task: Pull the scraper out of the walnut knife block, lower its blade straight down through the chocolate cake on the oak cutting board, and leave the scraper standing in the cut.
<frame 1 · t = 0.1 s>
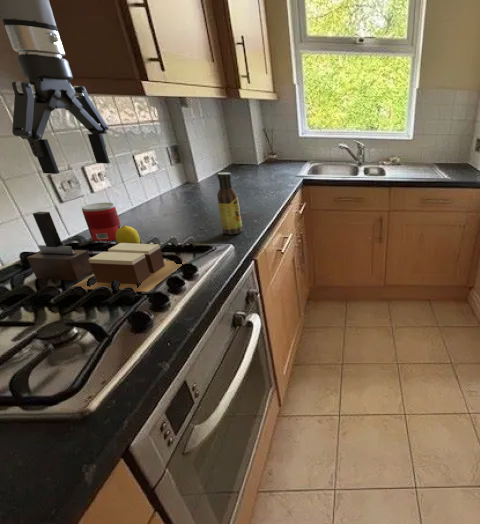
hand: (79, 167, 73), 26 cm above the worktop, tool pointing down, fingers open, 13 cm apart
sauce bottle: (233, 232, 113), on the worktop
lemon: (132, 252, 97), on the worktop
cake 1: (124, 279, 79), point 1 cm above the worktop, touching cutting board
cake 2: (140, 268, 84), point 1 cm above the worktop, touching cutting board
canned food: (109, 240, 104), on the worktop
knife block: (68, 280, 80), on the worktop
cutting board: (134, 279, 82), on the worktop
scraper: (67, 276, 80), point 1 cm above the worktop, touching knife block
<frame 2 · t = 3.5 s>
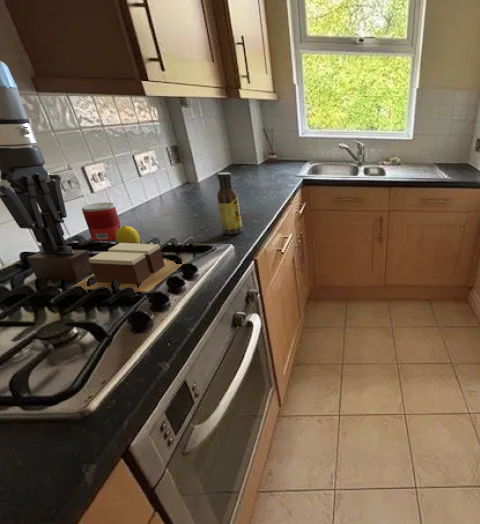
hand: (57, 252, 77), 7 cm above the worktop, tool pointing down, fingers closed on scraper, 2 cm apart
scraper: (67, 276, 80), point 1 cm above the worktop, touching gripper, knife block
everything else where it was.
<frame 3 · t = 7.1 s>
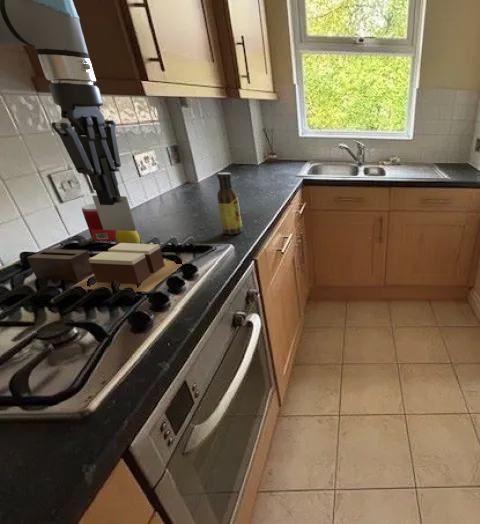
hand: (111, 203, 74), 19 cm above the worktop, tool pointing down, fingers closed on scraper, 2 cm apart
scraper: (120, 230, 76), point 13 cm above the worktop, touching gripper
everything else where it was.
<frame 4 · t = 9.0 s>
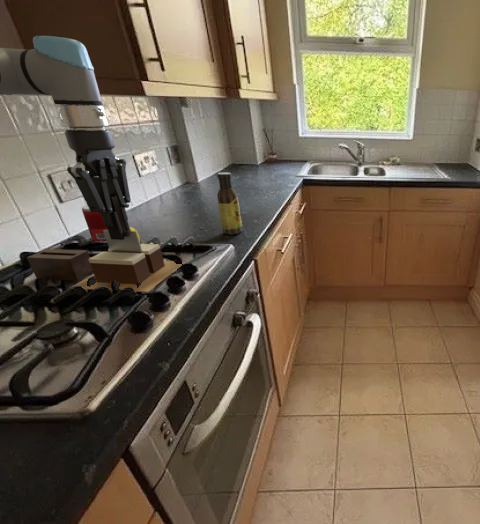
hand: (121, 237, 77), 11 cm above the worktop, tool pointing down, fingers closed on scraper, 2 cm apart
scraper: (129, 262, 80), point 5 cm above the worktop, touching gripper
everything else where it was.
when the fingers open (8 cm above the worktop, at t = 10.7 s): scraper stays where it is, resting on cutting board.
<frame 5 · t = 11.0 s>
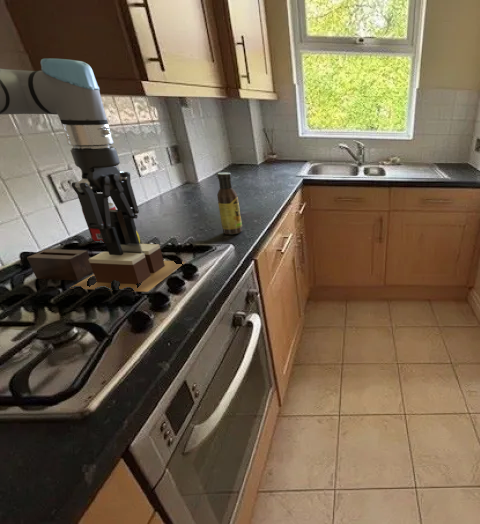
hand: (125, 249, 78), 8 cm above the worktop, tool pointing down, fingers open, 5 cm apart
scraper: (133, 273, 81), point 1 cm above the worktop, touching cutting board
everything else where it was.
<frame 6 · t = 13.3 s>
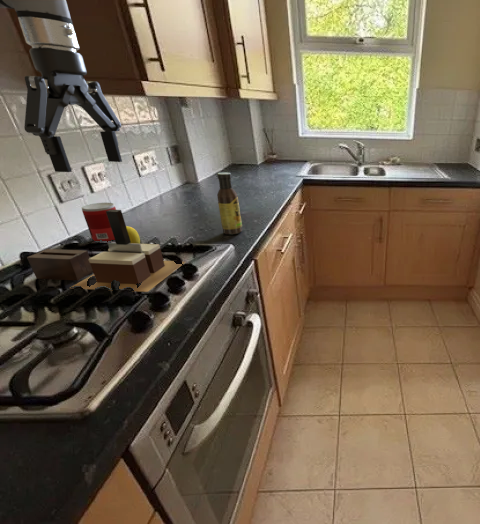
hand: (91, 166, 71), 27 cm above the worktop, tool pointing down, fingers open, 13 cm apart
nothing on the worktop moved.
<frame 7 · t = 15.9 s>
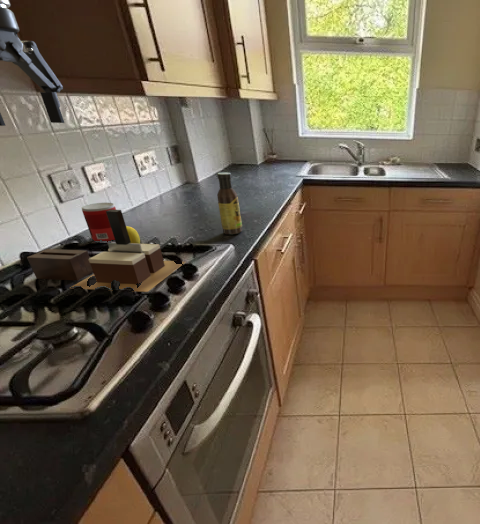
hand: (30, 124, 73), 35 cm above the worktop, tool pointing down, fingers open, 13 cm apart
nothing on the worktop moved.
at the end: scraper 0.1 cm from the target spot, point 1.5 cm above the worktop; cake 2 moved 0.0 cm from its start; cake 1 moved 0.0 cm from its start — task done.
